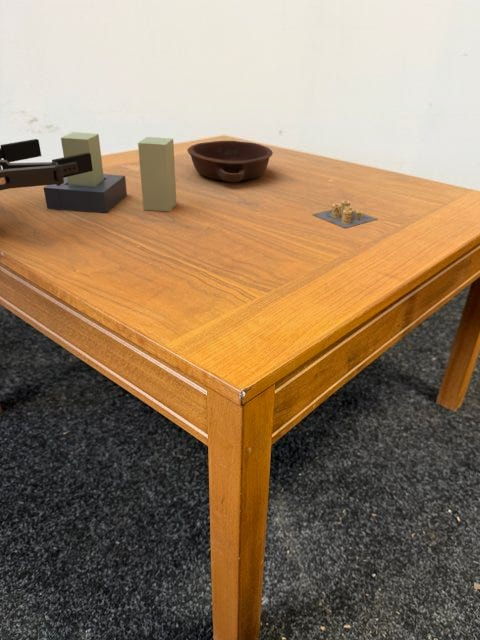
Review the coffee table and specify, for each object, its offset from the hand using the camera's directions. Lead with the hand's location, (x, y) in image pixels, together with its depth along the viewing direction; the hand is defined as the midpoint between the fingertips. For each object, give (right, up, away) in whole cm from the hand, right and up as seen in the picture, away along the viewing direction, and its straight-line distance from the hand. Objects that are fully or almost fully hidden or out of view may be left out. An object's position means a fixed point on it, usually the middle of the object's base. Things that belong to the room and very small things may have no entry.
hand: (63, 154), depth 90 cm
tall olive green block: (+2, -6, +7) cm, 9 cm away
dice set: (+47, -9, +4) cm, 48 cm away
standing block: (+15, -7, +5) cm, 17 cm away
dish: (+26, +5, +25) cm, 36 cm away
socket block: (+2, -6, +7) cm, 9 cm away
